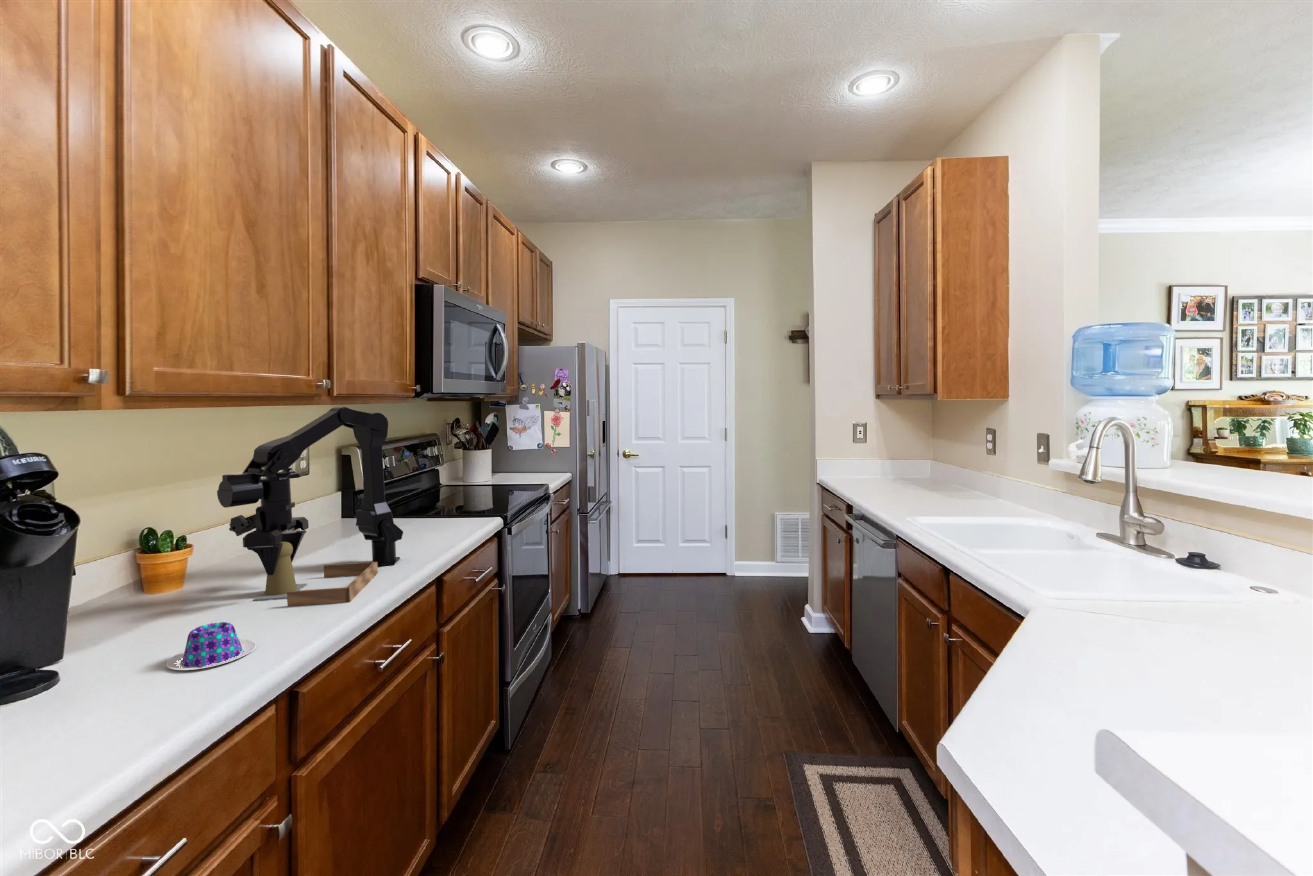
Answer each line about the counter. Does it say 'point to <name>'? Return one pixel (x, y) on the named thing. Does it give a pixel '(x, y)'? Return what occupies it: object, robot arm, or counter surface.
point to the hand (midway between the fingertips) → (280, 569)
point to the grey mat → (283, 596)
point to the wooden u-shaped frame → (336, 595)
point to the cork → (282, 574)
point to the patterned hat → (211, 646)
